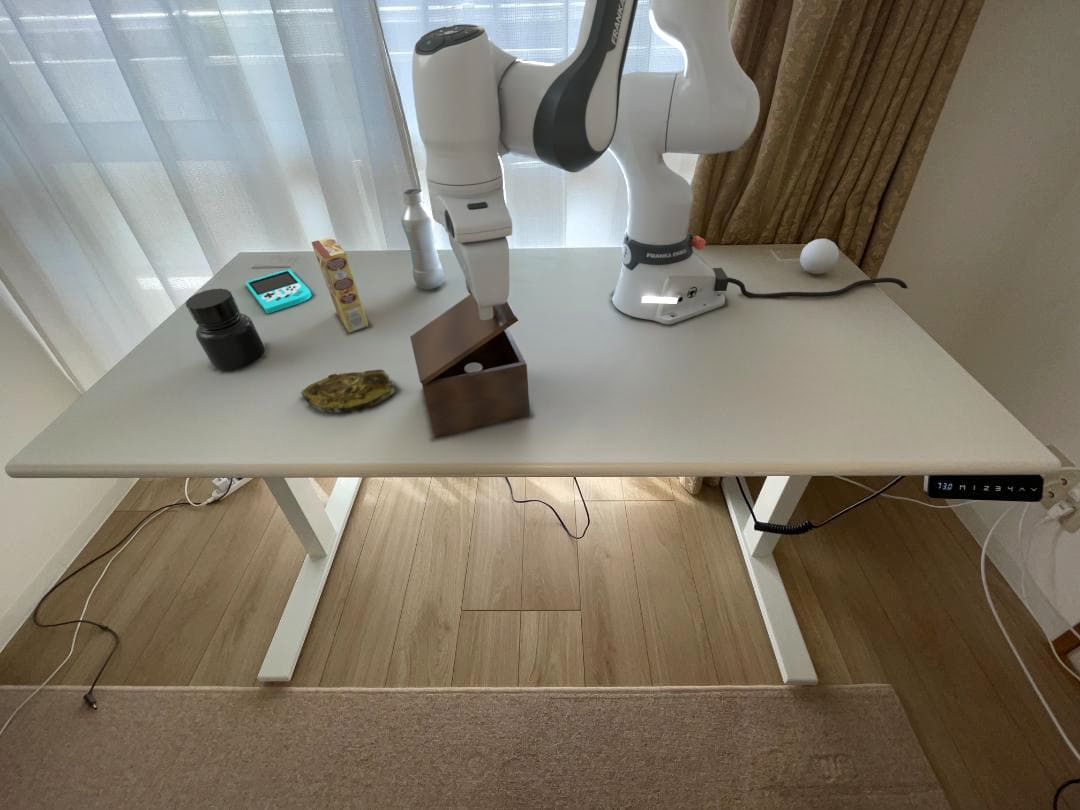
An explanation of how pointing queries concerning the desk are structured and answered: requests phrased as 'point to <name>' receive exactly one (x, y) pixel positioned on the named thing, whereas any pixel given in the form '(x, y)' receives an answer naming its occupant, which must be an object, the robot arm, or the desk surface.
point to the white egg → (819, 256)
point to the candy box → (340, 283)
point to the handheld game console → (278, 290)
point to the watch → (473, 367)
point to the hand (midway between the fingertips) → (479, 304)
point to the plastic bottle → (421, 240)
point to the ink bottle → (224, 330)
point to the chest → (480, 389)
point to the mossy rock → (349, 391)
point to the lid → (456, 336)
